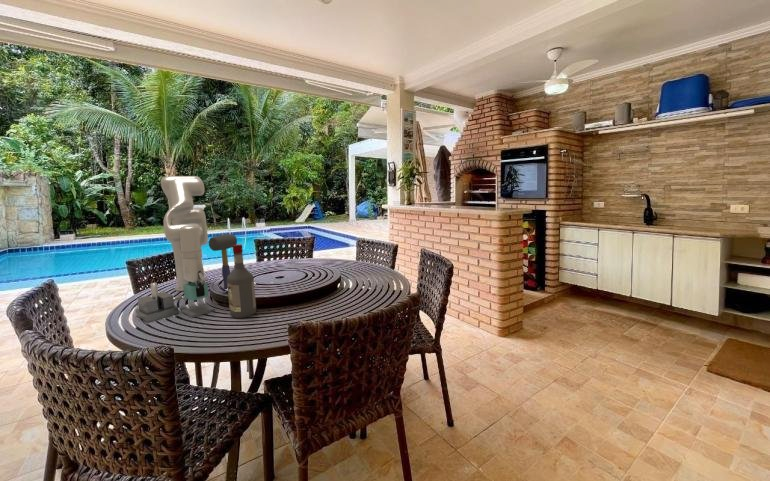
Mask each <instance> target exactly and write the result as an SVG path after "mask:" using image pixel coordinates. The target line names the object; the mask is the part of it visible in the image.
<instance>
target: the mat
mask: <svg viewBox="0 0 770 481" xmlns="http://www.w3.org/2000/svg"><path fill="white" fill-rule="evenodd" d="M215 311H216V308H214V307H212V306H209V305H208V304H206V303H203V304H200V305H196V306H195V305H194V306H193V307H190V308H186V309H182V310H180V312H181V314H182V315H183V314H184V315H185V316H188V317H189V318H191V319H193V318H196V317H199V316H203V315H206V314H208V313H212V312H215Z"/></svg>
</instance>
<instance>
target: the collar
mask: <svg viewBox="0 0 770 481" xmlns="http://www.w3.org/2000/svg"><path fill="white" fill-rule="evenodd" d="M199 283H200V282H198V285H199ZM183 288H184V291H183V294H184V296H183V297H185V298H186V299H185V300H189V301H192V302H194V301H197V300H202V299H205V298H209V297H210V294H209V286H208V282H206V281H205V282H204V291H205V295H204V296H201V297H197V294H196V288H197V287H196V284H195V282H194V283H188V284H184V285H183Z"/></svg>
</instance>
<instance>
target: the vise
mask: <svg viewBox="0 0 770 481" xmlns="http://www.w3.org/2000/svg"><path fill="white" fill-rule="evenodd" d="M150 292H151V296H150V295H146V296H142V297H138V298H137V305H138V308H137V309H135V314H136V318H137V317H138V318H139V319H141V320H142V319H143V321H144V322H146V323H151V322H154V321H158V320H161V319H164V318H168V317H171V316H175V315H179V313H180V312H179V306H177V305H176V304H175V301H180V300H187V299H186V298H185V296H182V295H179V294H177V296H175V297H174V295H173V294H171V293H168V292H165V291H162V292H159V289H158V283H157V282H152V283H150Z"/></svg>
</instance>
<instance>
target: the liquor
mask: <svg viewBox="0 0 770 481" xmlns="http://www.w3.org/2000/svg"><path fill="white" fill-rule="evenodd" d="M243 252H244V251H243V245H242V244H236V245H233V247H232V253H233V261H234V263H233V264H234V266H233V267H234V268H233V269H232V270H230V274H229V275H228V277H227V287H228V293H227V296H228V306H229V314H230V315H231V316H232V317H233V318H235V319H243V318H247V317H251V316H254V315H255V314H256V313H257V301H256V290H255V280H254V276H253V275H254V274H252V272H250V271H249V270H248V269H247V268H246V267H245V265H244V254H243Z"/></svg>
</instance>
